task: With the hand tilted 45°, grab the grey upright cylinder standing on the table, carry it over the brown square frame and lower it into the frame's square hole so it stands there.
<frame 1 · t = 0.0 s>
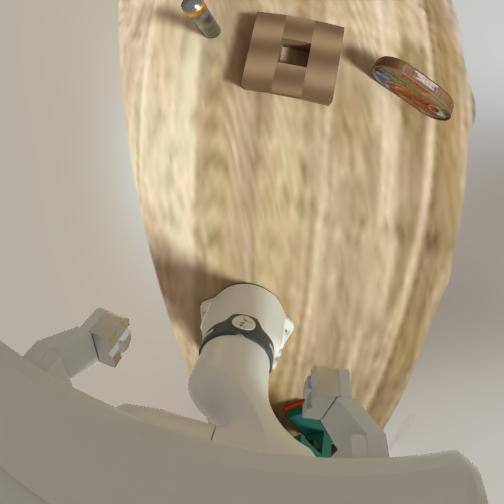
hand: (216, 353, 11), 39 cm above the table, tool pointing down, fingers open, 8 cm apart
brown square frame: (293, 59, 39), on the table
power tool: (299, 407, 64), on the table
grey upright cylinder: (212, 31, 38), on the table
tin: (405, 92, 38), on the table
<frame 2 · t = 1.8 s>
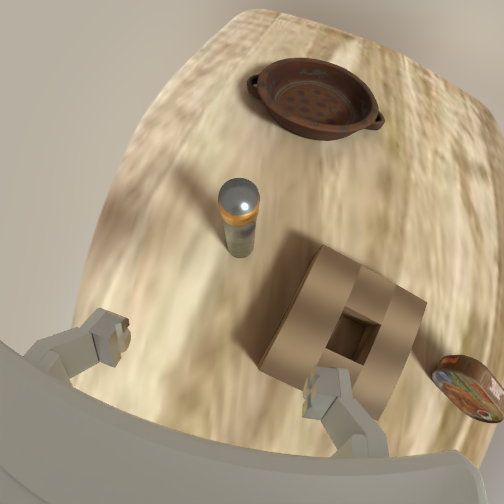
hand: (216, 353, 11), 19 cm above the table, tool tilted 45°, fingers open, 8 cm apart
brown square frame: (341, 337, 30), on the table
grey upright cylinder: (240, 245, 33), on the table
tin: (454, 389, 28), on the table
dish: (313, 111, 40), on the table
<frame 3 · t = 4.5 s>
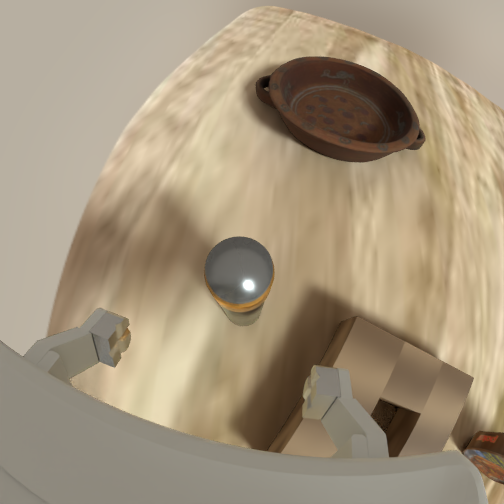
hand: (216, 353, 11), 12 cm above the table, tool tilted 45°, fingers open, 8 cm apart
brown square frame: (368, 422, 20), on the table
grey upright cylinder: (243, 308, 24), on the table
tin: (482, 456, 18), on the table
dish: (338, 123, 32), on the table
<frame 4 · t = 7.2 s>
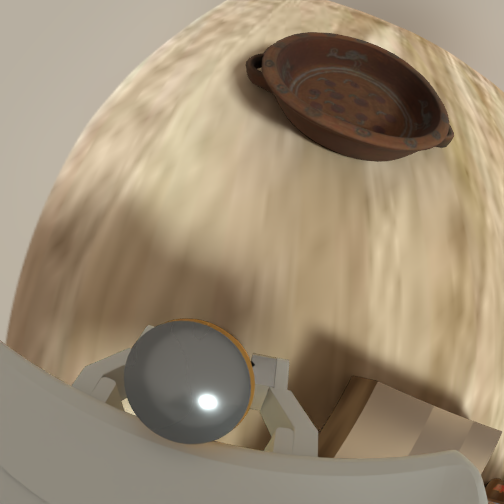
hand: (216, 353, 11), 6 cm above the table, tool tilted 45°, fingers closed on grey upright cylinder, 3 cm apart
brown square frame: (377, 485, 14), on the table
grey upright cylinder: (224, 360, 17), on the table, touching gripper
tin: (494, 496, 11), on the table
dish: (349, 112, 25), on the table
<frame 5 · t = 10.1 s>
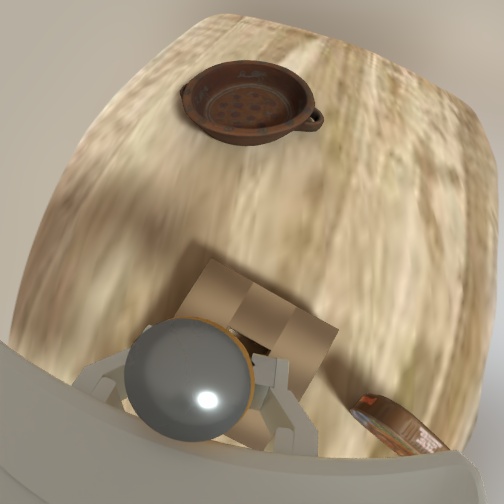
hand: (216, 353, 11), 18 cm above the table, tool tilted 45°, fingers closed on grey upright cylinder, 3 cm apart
brown square frame: (237, 357, 28), on the table
grey upright cylinder: (224, 359, 17), point 12 cm above the table, touching gripper
tin: (387, 428, 26), on the table
dish: (247, 115, 39), on the table
when the fingers open (8 cm above the table, at t = 13.2 s): grey upright cylinder drops 2 cm, resting in brown square frame.
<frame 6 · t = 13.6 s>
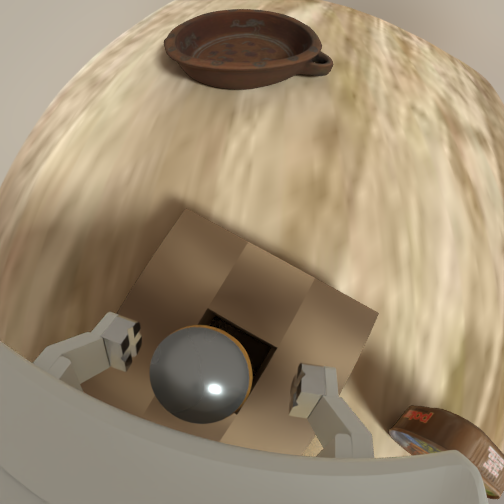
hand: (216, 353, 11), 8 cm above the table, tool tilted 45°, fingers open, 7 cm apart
brown square frame: (226, 359, 19), on the table
grey upright cylinder: (226, 358, 19), resting in brown square frame
tin: (430, 447, 16), on the table
dish: (241, 63, 30), on the table
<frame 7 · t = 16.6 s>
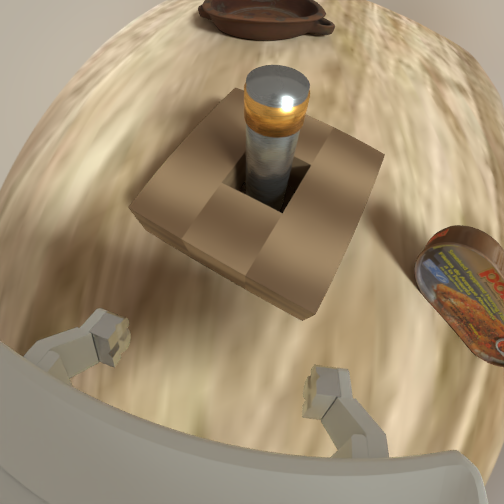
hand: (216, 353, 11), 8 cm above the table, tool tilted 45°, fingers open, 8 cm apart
brown square frame: (264, 200, 23), on the table
grey upright cylinder: (264, 200, 23), resting in brown square frame
tin: (455, 313, 20), on the table
dish: (262, 26, 34), on the table
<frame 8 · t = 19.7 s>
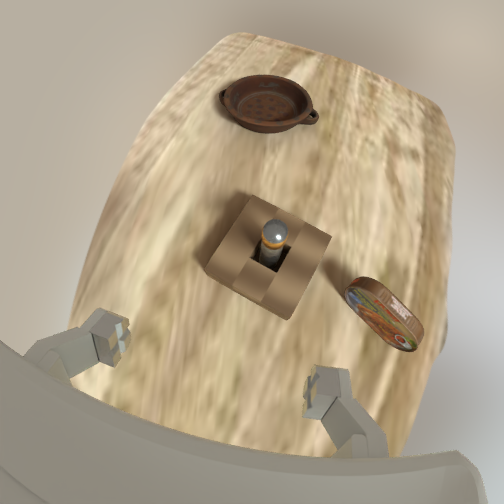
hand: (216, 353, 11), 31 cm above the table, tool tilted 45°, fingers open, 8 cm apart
brown square frame: (268, 260, 46), on the table
grey upright cylinder: (268, 260, 46), resting in brown square frame
tin: (373, 318, 43), on the table
dish: (266, 113, 57), on the table
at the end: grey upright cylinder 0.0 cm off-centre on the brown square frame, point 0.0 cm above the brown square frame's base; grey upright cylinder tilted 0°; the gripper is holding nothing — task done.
